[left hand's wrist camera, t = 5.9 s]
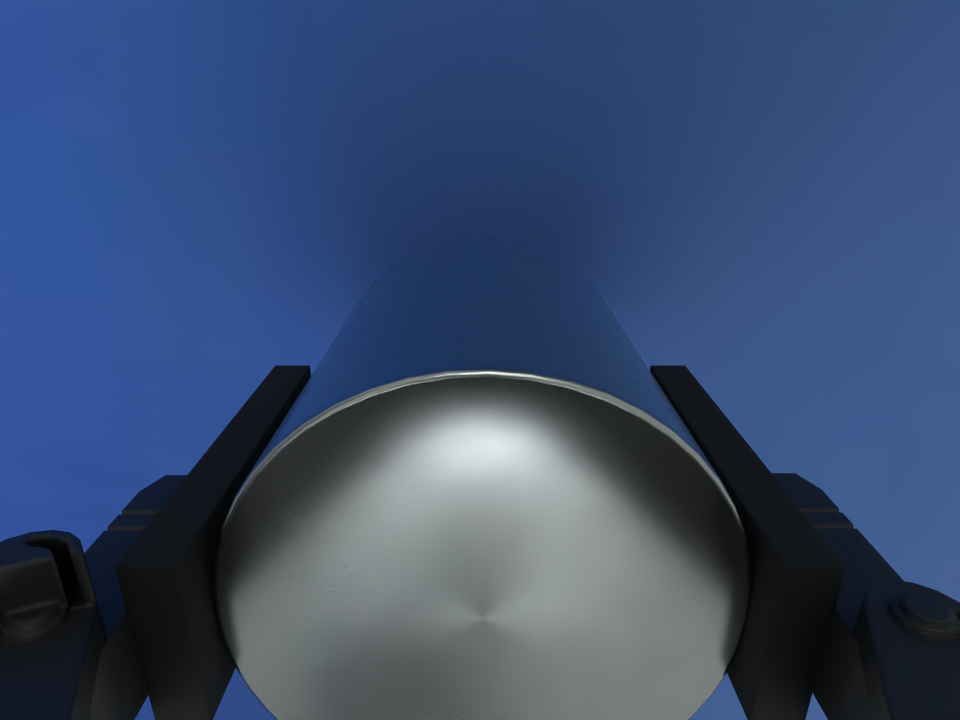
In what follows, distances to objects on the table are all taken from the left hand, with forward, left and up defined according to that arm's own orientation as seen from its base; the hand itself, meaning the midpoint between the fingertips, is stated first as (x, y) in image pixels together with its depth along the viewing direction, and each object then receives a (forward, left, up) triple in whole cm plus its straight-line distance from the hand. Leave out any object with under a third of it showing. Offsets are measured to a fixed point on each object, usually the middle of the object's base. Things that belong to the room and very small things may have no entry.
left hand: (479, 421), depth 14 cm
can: (0, 0, -3) cm, 3 cm away
